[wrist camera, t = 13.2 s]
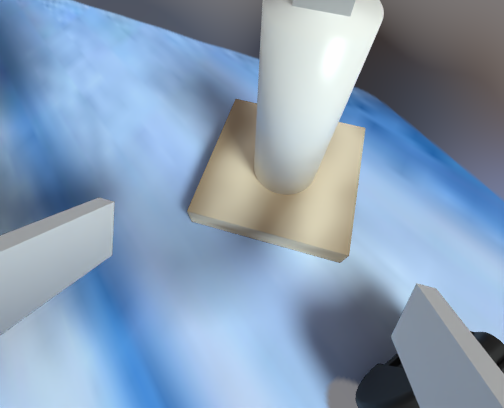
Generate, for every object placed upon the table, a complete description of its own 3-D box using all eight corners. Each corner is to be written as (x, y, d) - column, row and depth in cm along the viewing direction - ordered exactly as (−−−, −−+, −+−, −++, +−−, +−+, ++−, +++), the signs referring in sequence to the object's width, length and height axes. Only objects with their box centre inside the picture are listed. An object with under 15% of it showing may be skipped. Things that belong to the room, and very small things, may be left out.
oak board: (191, 221, 22) (187, 211, 20) (236, 114, 27) (235, 98, 25) (339, 262, 21) (349, 255, 19) (356, 142, 26) (365, 128, 24)
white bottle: (246, 185, 21) (249, -79, 8) (262, 137, 23) (286, -135, 10) (309, 201, 21) (429, -52, 7) (320, 150, 23) (427, -117, 9)
